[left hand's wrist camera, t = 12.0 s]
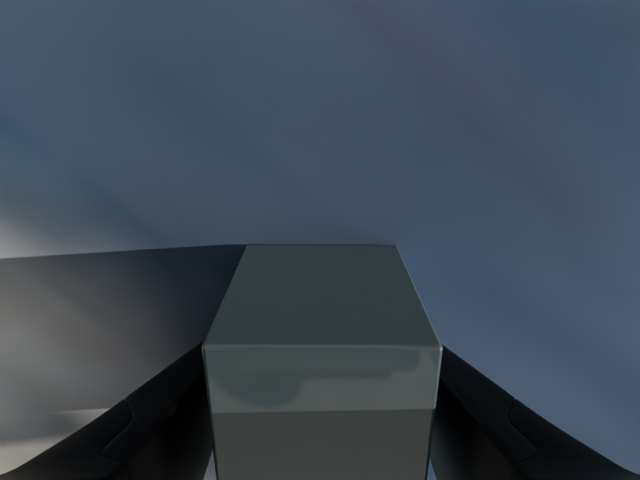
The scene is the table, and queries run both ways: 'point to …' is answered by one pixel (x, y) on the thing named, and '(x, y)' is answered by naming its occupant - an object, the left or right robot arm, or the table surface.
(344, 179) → the table surface
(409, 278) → the block
